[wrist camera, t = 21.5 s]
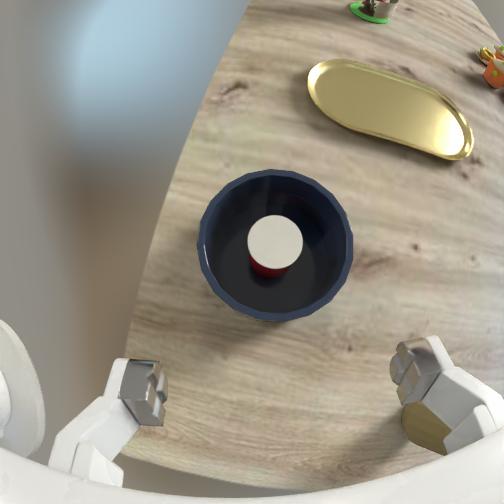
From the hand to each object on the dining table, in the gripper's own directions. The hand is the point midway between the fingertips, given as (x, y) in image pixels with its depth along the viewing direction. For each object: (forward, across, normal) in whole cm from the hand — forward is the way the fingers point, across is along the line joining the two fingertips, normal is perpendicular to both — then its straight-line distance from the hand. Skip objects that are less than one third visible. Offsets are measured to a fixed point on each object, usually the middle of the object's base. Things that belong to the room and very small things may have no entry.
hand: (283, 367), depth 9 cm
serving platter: (+47, -28, -5) cm, 55 cm away
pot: (+28, -2, +14) cm, 31 cm away
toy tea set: (+64, -74, -22) cm, 101 cm away
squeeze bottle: (+10, -23, +32) cm, 40 cm away
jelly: (+27, -2, +14) cm, 31 cm away
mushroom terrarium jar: (+73, -34, -31) cm, 86 cm away
